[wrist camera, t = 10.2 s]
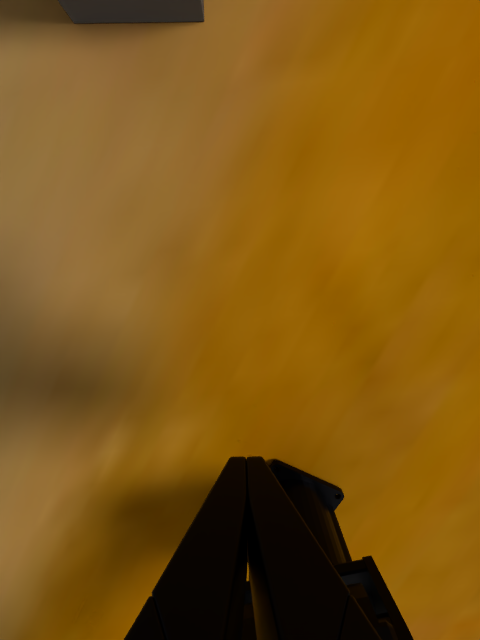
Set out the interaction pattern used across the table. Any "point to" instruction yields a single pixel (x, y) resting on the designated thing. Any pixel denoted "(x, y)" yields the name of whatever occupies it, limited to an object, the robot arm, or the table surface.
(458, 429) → the table surface
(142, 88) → the table surface
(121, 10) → the camera body
